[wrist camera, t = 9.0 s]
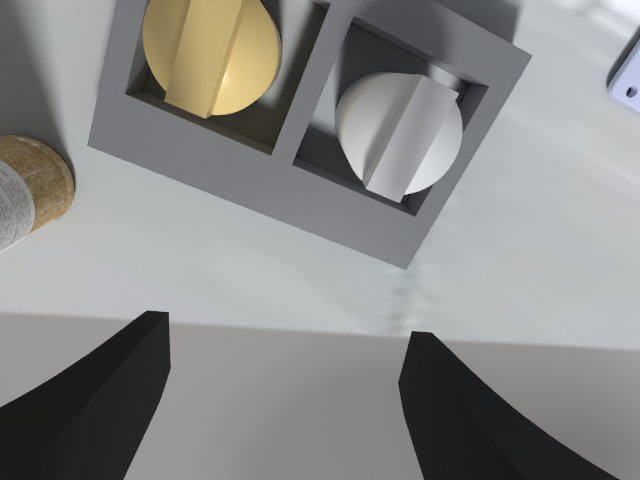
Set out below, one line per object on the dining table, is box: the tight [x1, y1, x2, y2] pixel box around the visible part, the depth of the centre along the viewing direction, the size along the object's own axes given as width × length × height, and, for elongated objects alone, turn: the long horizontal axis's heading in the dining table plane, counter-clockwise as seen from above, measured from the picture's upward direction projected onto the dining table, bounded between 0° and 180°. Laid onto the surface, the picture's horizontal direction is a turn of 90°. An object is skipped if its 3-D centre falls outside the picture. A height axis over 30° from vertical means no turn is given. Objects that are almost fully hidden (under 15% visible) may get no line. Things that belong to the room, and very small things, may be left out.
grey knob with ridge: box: [335, 72, 463, 203], centre depth 17 cm, size 4×4×6 cm
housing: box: [87, 0, 532, 270], centre depth 18 cm, size 16×11×2 cm
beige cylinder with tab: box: [143, 0, 282, 119], centre depth 15 cm, size 4×4×6 cm
